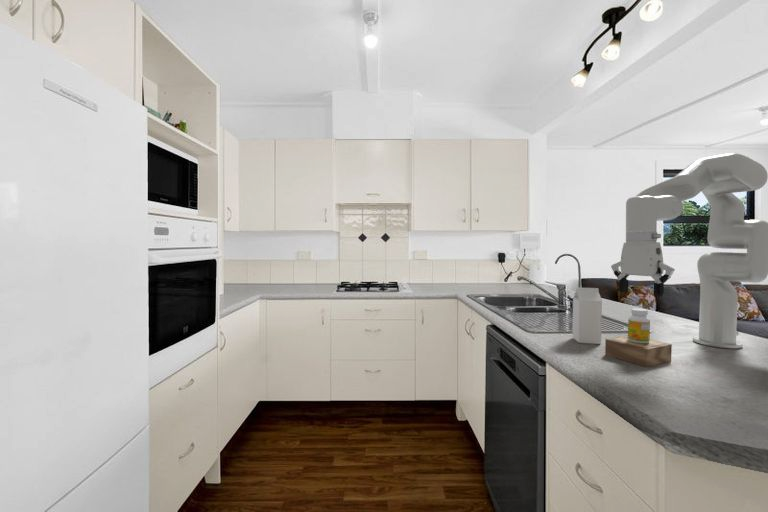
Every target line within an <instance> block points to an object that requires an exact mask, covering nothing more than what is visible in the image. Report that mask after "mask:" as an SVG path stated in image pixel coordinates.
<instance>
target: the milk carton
mask: <svg viewBox="0 0 768 512" xmlns="http://www.w3.org/2000/svg"><path fill="white" fill-rule="evenodd" d="M599 290H600V289H599V288H598V287H597V288H596V287H576V290H575V293H574V295H573V297H572V298H573V299H572V300H573V301H572V335H571V336H572V339H573V340H574V341H576V342H577V343H578V344H594V345H595V344H596V345H601V344H602V322H603V321H602V318H603V317H602V315H603V314H602V313H603V299H602V297H601V295H600V292H599Z"/></svg>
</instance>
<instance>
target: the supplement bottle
mask: <svg viewBox="0 0 768 512" xmlns="http://www.w3.org/2000/svg"><path fill="white" fill-rule="evenodd" d="M630 312H631V313H630V314H631V315H629V316H628V323H627V335H628V340H629V341H631V342H635V343H649V340H651V339H650V337H651V336H650V334H651V319H650V317H648V313H649V312H648V309H645V308H640V307H639V308H634V307H633V308H631V311H630Z"/></svg>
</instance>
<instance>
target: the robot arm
mask: <svg viewBox="0 0 768 512" xmlns="http://www.w3.org/2000/svg"><path fill="white" fill-rule="evenodd" d="M767 182H768V171H767V169H766V167H765V166H764V165H762V164H761V163H759V162H758V161H756V160H754V159H752V158H750V157H749V156H746V155H745V154H744V155H743V154H741V153H737V152H731V153H725V154H719V155H718V154H717V155H713V156H708V157H707V156H706V157H703V158H699V159H696V160H694V161H693V162H691V163H689V164H688V165H687V166H686V167H685V168H684V169H682V170H681V171H680V172H679V173H677V174H676V175H674V176H673V177H671V178H669V179H666V180H663V181H661V182H660V183H657V184H655V185H651V186H650V187H647V188H645V189H644V190H642V191H640V192H639V193H637V194H636V195H635V196H631V197H629V198H627V200H626V202H625V242H623V245H622V248H621V249H622V250H621V253H620V261H618V262H616V263H613V264H611V266H610V267H611V269H612V272H613V274H614V275H615V277H616V278H617V280H618V282H619V283H618V285H619V287H618V288H619V293H620V294H624V293H628V292H629V279H627V278H628V277H629V276H637V277H638V276H640V277H651V278H652V279H653V281H654V282H655V283H653V297H654V298H659V297H663V294H664V291H665V289H664V288H665V287H664V286H665V285H664V284H665V283H666V282H667V281H668V280H669V279H671V277H672V276H673V273H674V272H675V271H676V269H675V268H673V267H672V266H669V265H668V264H666V263H664V257H663V250H662V246H661V242H658V241H657V240H658V239H662V234H661V233H658V231H657V224H658V223H657V222H660V221H671V220H674V219H676V218H677V217H679V216H680V215H681V214H682V213H683V211H684V209H683V208H684V204H683V202H684V201H687V200H690V199H693V198H695V197H696V196H697V195H699V194H700V193H702V194H703V196H704V197H705V199H706V200H707V202H708V204H709V206H710V207H709V208H710V215H709V222H708V230H707V236H706V237H707V238H706V239H707V243H708V245H709V246H710V247H712V248H714V249H723V250H726V249H727V250H746V252H732V251H731V252H727V251H726V252H724V251H723V252H721V251H720V252H719V251H717V252H715V251H714V252H708V253H704V254H702V255H701V256H700V257H699V258H698V259H697V263H696V264H697V265H696V266H697V268H696V269H697V271H698V277H699V282H700V283H699V285H700V289H699V292H700V293H699V315H698V316H699V317H698V335H695V336H692V340H693V342H694V343H697V344H701V345H704V346H708V347H714V348H721V349H741V348H743V343H742V342H740V341H737V337H738V336H739V335H740V333H739V331H737V325H738V324H737V323H738V299H739V295H738V292H737V290H736V288H735V287H734V285H732V283H731V282H737V283H738V282H740V283H754V284H757V283H761V282H764V281H765V280H766V278H767V277H768V222H767V221H765V220H762V219H749V220H748V219H745V211H746V210H745V209H746V208H745V205H744V203H743V201H742V200H741V199H739V197H738V196H736V195H735V194H734V193H744V192H753V191H757V190H760V189H761V188H763V187H764V186H765V185H766V184H767ZM619 268H620V269H619ZM664 271H665V272H664Z"/></svg>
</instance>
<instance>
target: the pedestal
mask: <svg viewBox="0 0 768 512" xmlns="http://www.w3.org/2000/svg"><path fill="white" fill-rule="evenodd" d="M672 345H673V344H671V343H667V342H663V341H658V340H654V339H650V340H649V343H635V342H631V341H629V340H628V334H626V335H621V336H614V337H610V338H605V346H604V349H605V352H604V355H605V356H608V357H611V358H615V359H619V360H621V361H624V362H629V363H632V364H636V365H638V366H641V367H645V368H646V367H651V366H652V367H653V366H657V365H660V364H664V363H665V364H666V363H669V362H672V349H673V348H672V347H673V346H672Z"/></svg>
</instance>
